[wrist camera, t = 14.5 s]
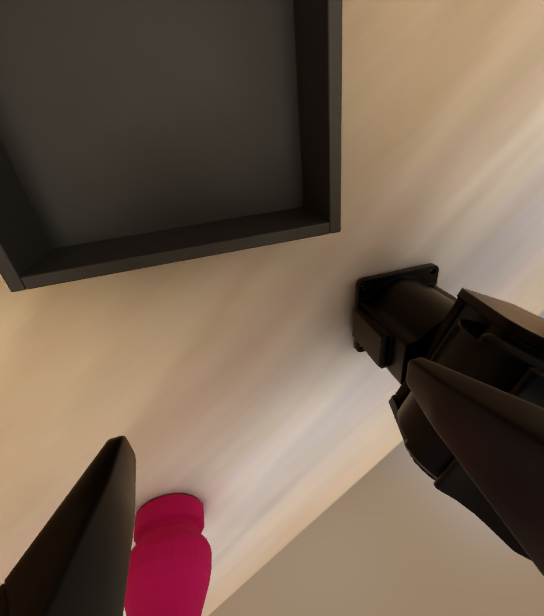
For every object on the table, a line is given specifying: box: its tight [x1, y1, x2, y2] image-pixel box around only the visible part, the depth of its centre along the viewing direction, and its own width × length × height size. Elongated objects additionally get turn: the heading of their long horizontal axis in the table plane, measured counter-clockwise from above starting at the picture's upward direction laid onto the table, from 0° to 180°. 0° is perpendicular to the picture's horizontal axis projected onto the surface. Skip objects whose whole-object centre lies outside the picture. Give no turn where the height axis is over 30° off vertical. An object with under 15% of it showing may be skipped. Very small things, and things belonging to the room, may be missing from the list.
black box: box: [0, 0, 342, 292], centre depth 13 cm, size 15×13×4 cm
